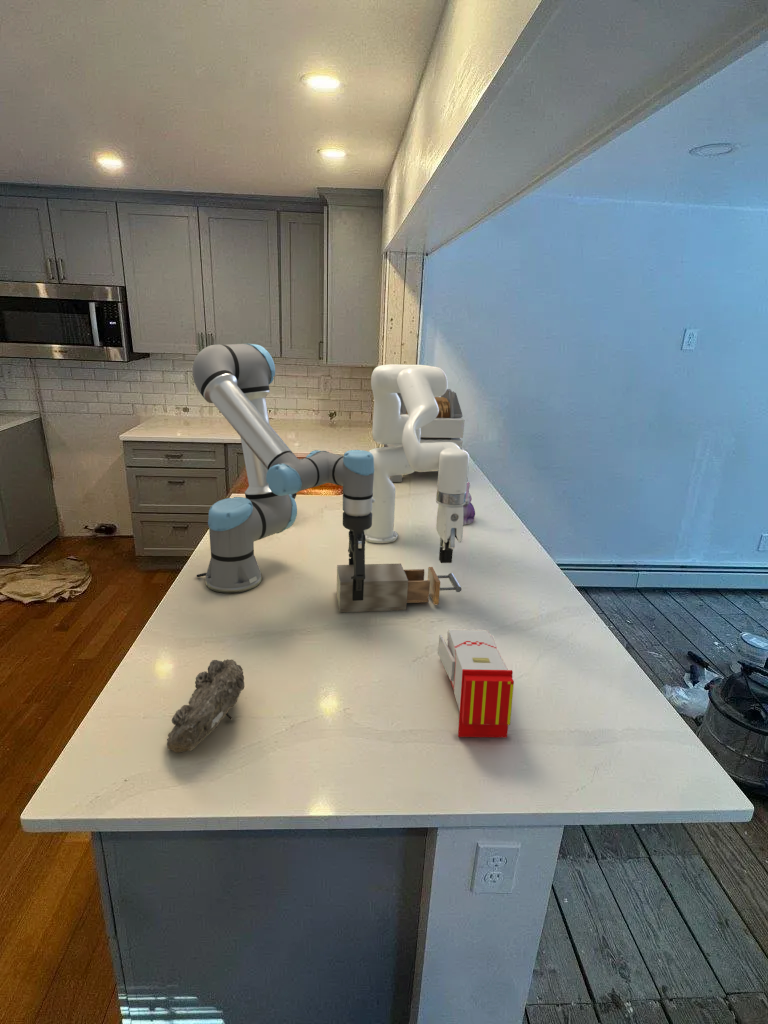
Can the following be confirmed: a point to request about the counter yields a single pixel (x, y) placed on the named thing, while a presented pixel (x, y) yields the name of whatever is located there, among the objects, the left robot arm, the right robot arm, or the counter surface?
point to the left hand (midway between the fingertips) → (355, 589)
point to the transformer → (439, 424)
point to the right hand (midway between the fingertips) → (445, 561)
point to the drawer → (427, 585)
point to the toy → (478, 682)
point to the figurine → (468, 508)
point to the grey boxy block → (373, 588)
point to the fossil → (206, 705)
